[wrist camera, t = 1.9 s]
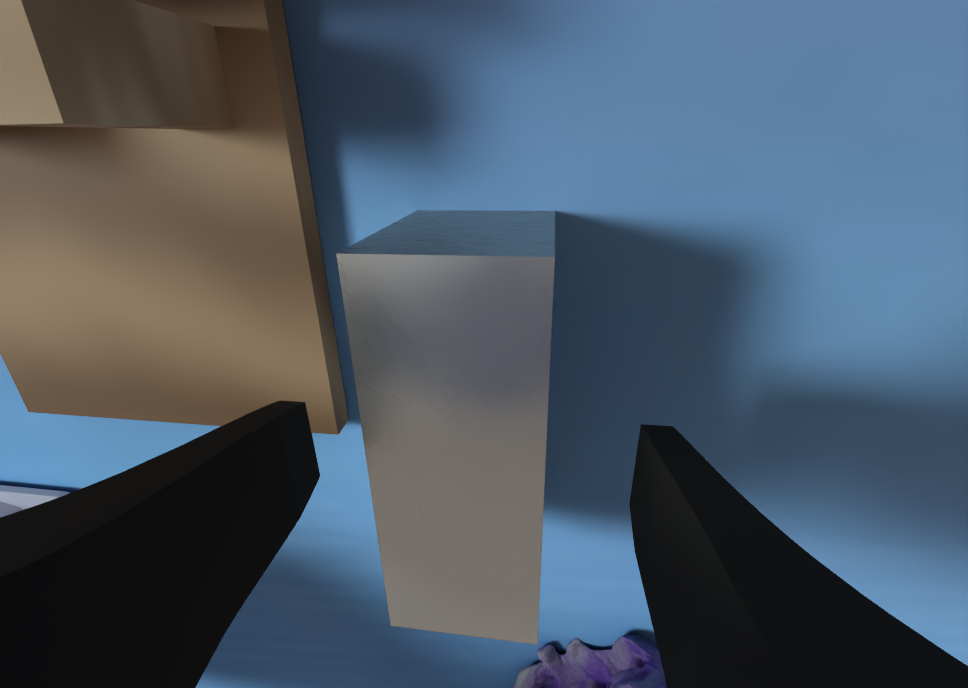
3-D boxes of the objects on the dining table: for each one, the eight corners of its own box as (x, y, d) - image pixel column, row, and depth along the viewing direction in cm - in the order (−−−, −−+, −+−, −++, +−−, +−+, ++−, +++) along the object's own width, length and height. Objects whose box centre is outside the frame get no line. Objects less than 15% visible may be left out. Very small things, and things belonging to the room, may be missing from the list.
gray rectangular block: (542, 493, 15) (537, 644, 11) (438, 484, 16) (390, 626, 11) (555, 210, 12) (555, 257, 7) (418, 209, 12) (336, 253, 8)
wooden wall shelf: (348, 420, 15) (235, 574, 10) (52, 399, 16) (-186, 523, 11) (264, -113, 10) (-85, -410, 4) (-162, -71, 11) (-804, -257, 6)
